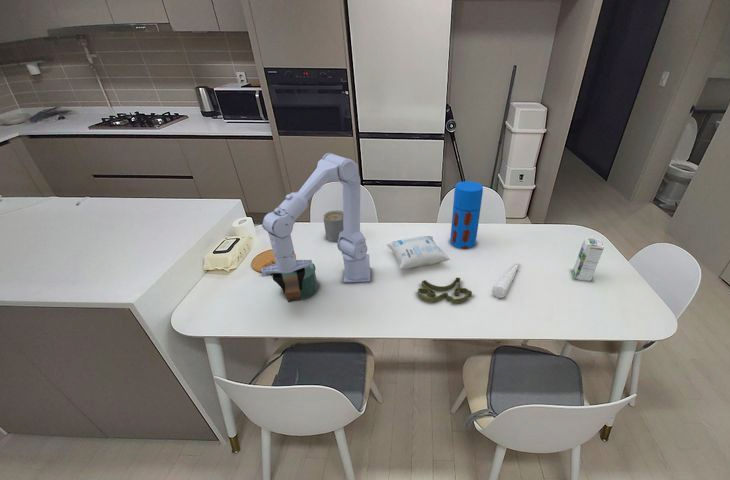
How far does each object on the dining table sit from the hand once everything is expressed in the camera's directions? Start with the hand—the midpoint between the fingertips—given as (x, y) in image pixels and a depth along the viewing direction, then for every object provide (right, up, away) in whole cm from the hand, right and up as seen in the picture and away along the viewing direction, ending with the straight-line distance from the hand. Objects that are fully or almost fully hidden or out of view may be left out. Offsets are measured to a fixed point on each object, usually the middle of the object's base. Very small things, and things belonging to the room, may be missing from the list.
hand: (293, 289), depth 110 cm
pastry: (-14, +7, +23) cm, 28 cm away
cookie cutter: (+49, -2, +12) cm, 50 cm away
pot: (-2, 0, +14) cm, 14 cm away
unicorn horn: (+72, +3, +18) cm, 74 cm away
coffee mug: (+7, +23, +44) cm, 50 cm away
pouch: (+40, +11, +29) cm, 50 cm away
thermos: (+59, +19, +40) cm, 74 cm away
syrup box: (+101, +5, +21) cm, 103 cm away
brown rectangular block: (0, -1, +1) cm, 1 cm away
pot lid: (-2, +6, +9) cm, 11 cm away
